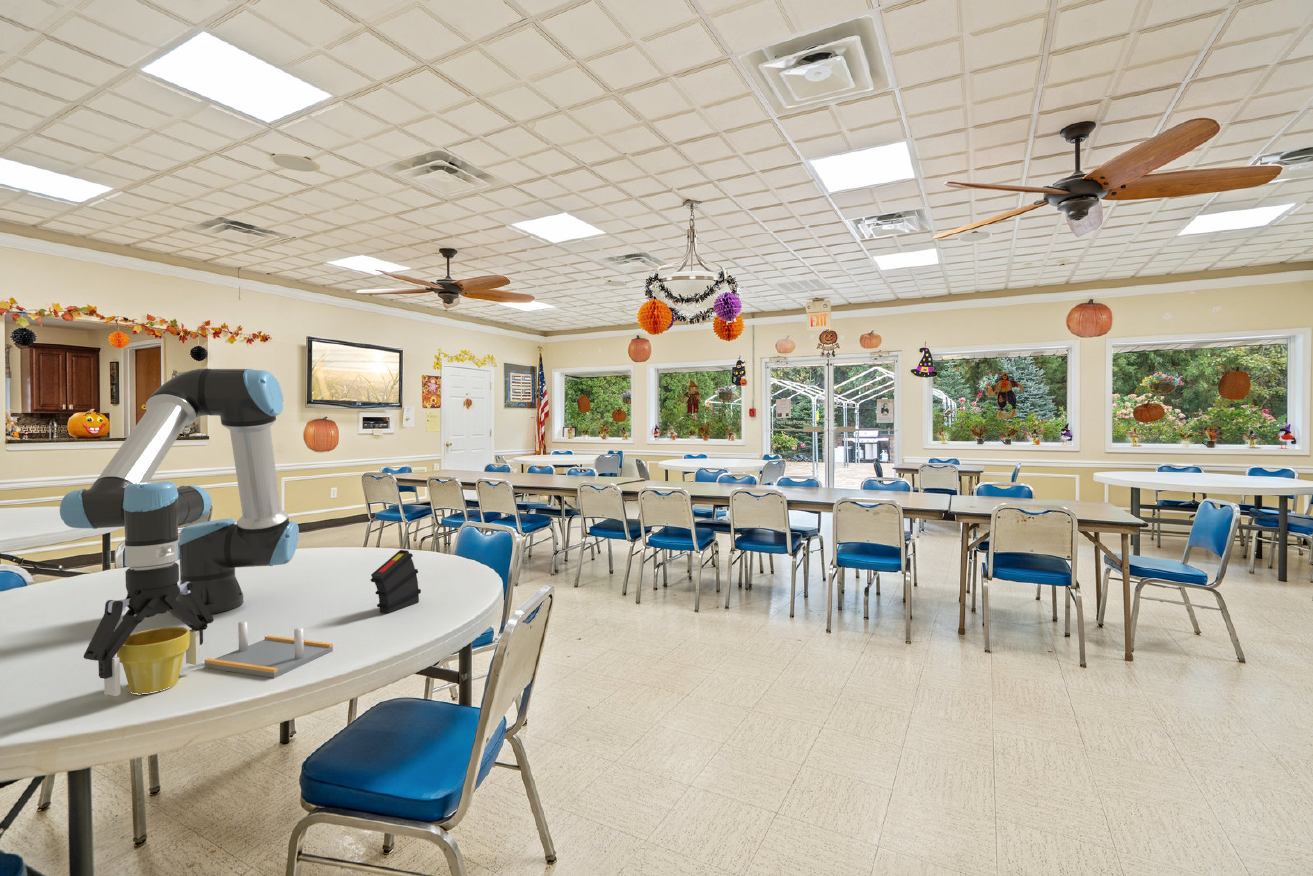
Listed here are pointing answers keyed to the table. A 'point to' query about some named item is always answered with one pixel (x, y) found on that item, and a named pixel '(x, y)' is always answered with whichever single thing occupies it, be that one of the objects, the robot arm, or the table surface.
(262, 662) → the tray
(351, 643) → the table surface
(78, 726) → the table surface
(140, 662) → the plant pot
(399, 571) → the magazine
